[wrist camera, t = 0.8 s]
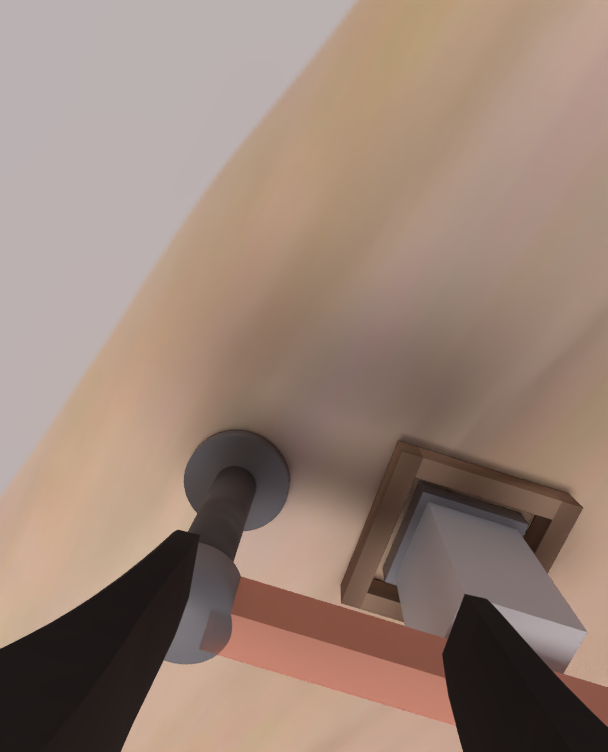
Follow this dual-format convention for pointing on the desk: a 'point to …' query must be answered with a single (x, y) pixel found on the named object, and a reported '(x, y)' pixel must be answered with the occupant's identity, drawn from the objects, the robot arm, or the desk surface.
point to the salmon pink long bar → (321, 642)
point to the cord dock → (358, 589)
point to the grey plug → (477, 572)
